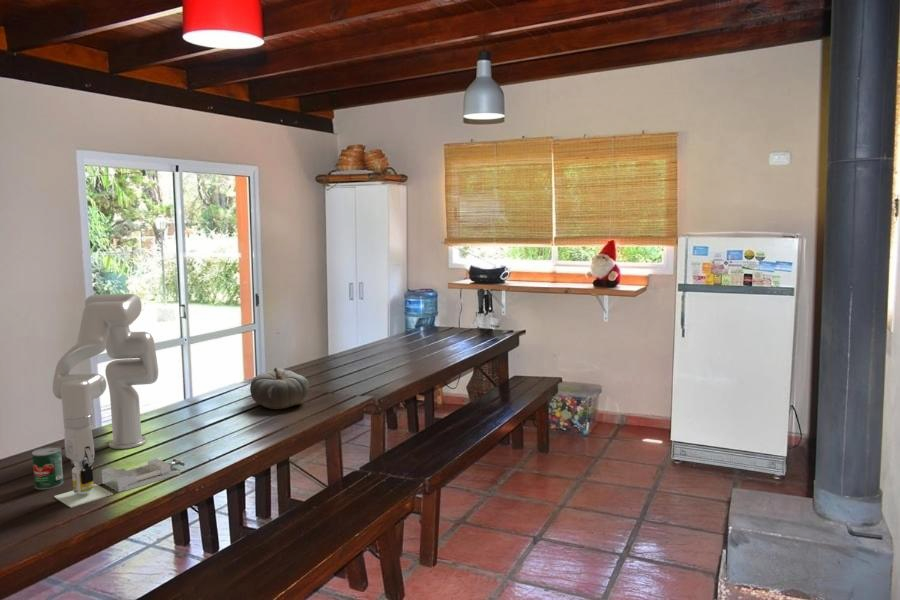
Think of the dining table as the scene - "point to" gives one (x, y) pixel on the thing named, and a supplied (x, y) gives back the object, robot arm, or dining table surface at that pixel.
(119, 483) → the vise
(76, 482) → the supplement bottle
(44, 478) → the canned tomato
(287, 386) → the gourd
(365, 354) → the dining table surface
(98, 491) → the pad
